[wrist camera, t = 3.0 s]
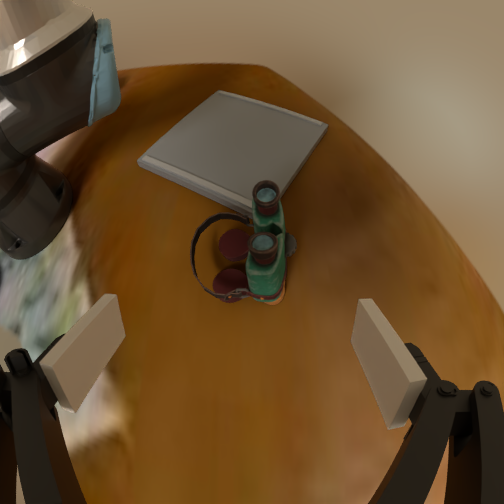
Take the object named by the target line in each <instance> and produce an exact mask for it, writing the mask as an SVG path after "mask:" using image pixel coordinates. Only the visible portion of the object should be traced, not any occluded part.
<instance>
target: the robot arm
mask: <svg viewBox="0 0 504 504" xmlns="http://www.w3.org/2000/svg"><path fill="white" fill-rule="evenodd" d="M120 102H121V93H120V87H119V81H118V75H117V69H116V63H115V56H114V50H113V42H112V32H111V24H110V20H109V19H99V20H97V22H96V21H95V19H94V16H93V12H92V9H91V8H89V7H86V6H81V5H78V4H75V3H74V2H73V0H0V248H1V249H2V250H3V251H4V252H5V253H7V254H8V255H9V256H10V257H12V258H14V259H18V260H21V259H26V258H29V257H32V256H34V255H35V254H37V253H38V252H40V251H41V250H42V249H44V248H45V247H46V246H47V245H48V244H49V243H50V242H51V241H52V240H53V238H54V237H55V236H56V235H57V233H58V232H59V230H60V229H61V227H62V226H63V224H64V222H65V220H66V218H67V216H68V214H69V211H70V208H71V204H72V198H73V192H72V187H71V185H70V183H69V181H68V180H67V179H66V177H65V176H64V174H63V173H62V172H61V171H59V170H58V169H56V168H55V167H53V166H52V165H50V164H48V163H47V162H45V161H44V160H42V159H41V158H39V157H38V156H36V153H37V152H39V151H41V150H42V149H44V148H46V147H47V146H49V145H51V144H53V143H55V142H56V141H58V140H60V139H62V138H64V137H65V136H67V135H69V134H71V133H73V132H75V131H77V130H79V129H81V128H83V127H85V126H88V127H89V126H91V125H92V124H93V122H95V121H97V120H99V119H101V118H103V117H105V116H107V115H109V114H111V113H113V112H114V111H115V110H116V109H117V108H118V106H119V105H120ZM124 338H125V331H124V327H123V323H122V319H121V314H120V310H119V305H118V300H117V295H114V294H105V295H104V296H102V297H101V298H100V299H99V300H98V301H97V302H96V303H95V304H94V305H93V306H92V307H91V308H90V309H89V310H88V311H87V312H86V313H85V314H84V315H83V316H82V317H81V318H80V320H79V321H78V322H77V323H76V324H75V325H74V326H73V327H72V328H71V329H70V330H69V331H68V332H67V333H66V334H63V335H61V336H59V337H58V338H56V339H55V340H54V341H53V342H52V343H51V345H49V346H48V347H47V349H46V350H45V351H44V352H43V353H42V354H41V355H40V356H39V357H38V358H37V359H36V360H35V362H34V363H33V362H32V360H31V358H30V355H29V353H28V351H27V350H26V349H22V348H20V349H15V350H12V351H11V352H9V353H8V354H7V355H6V356H5V359H4V360H5V362H6V364H7V367H8V368H9V371H10V372H4V371H3V369H2V367H1V365H0V504H16V476H17V465H18V471H19V476H20V482H21V486H22V491H23V495H24V499H25V503H26V504H87V503H86V501H85V498H84V496H83V493H82V491H81V488H80V486H79V483H78V481H77V478H76V475H75V472H74V469H73V466H72V463H71V460H70V457H69V454H68V451H67V447H66V444H65V440H64V437H63V433H62V429H61V425H60V421H59V417H58V412H57V409H56V407H55V406H54V405H55V404H56V402H57V401H58V402H59V404H60V405H61V407H62V409H63V410H66V411H69V412H72V413H76V412H77V410H78V409H79V407H80V405H81V404H82V402H83V400H84V399H85V397H86V396H87V394H88V392H89V391H90V389H91V388H92V386H93V385H94V383H95V381H96V380H97V378H98V377H99V375H100V374H101V372H102V371H103V369H104V367H105V366H106V364H107V363H108V361H109V360H110V358H111V357H112V355H113V354H114V352H115V351H116V349H117V348H118V346H119V345H120V343H121V342H122V340H123V339H124ZM351 344H352V346H353V348H354V350H355V353H356V355H357V357H358V359H359V362H360V364H361V366H362V368H363V371H364V373H365V375H366V378H367V380H368V382H369V385H370V387H371V389H372V392H373V394H374V396H375V399H376V401H377V404H378V406H379V409H380V411H381V413H382V416H383V418H384V421H385V423H386V426H387V428H388V430H389V429H394V428H398V427H403V426H404V425H405V423H406V421H407V420H408V418H410V420H411V422H412V425H411V426H410V428H409V430H408V432H407V433H406V435H405V437H404V438H403V439H404V441H403V443H402V445H401V447H400V449H399V451H398V453H397V455H396V457H395V459H394V461H393V463H392V465H391V466H390V468H389V470H388V472H387V474H386V475H385V477H384V479H383V481H382V482H381V484H380V486H379V487H378V489H377V490H376V492H375V494H374V495H373V497H372V498H371V500H370V501H369V503H368V504H424V502H425V500H426V498H427V495H428V493H429V491H430V488H431V486H432V484H433V481H434V479H435V476H436V474H437V471H438V468H439V466H440V463H441V460H442V457H443V454H444V451H445V448H446V445H447V442H448V438H449V457H448V472H447V483H446V492H445V500H444V504H504V412H503V407H502V402H501V398H500V394H499V390H498V388H497V387H496V386H495V385H494V384H493V383H491V382H489V381H479V382H477V383H476V385H475V386H474V388H473V390H459V389H458V388H457V386H456V385H455V384H453V383H452V382H449V381H446V380H441V379H440V377H439V376H438V375H437V373H436V372H435V370H434V369H433V367H432V366H431V365H430V363H429V362H428V360H427V359H426V357H424V355H423V353H422V352H421V351H420V349H419V348H418V347H416V346H415V345H413V344H412V343H405V344H404V343H403V342H402V340H401V339H400V337H399V336H398V335H397V333H396V332H395V330H394V329H393V327H392V326H391V325H390V323H389V322H388V320H387V319H386V318H385V316H384V315H383V313H382V312H381V311H380V309H379V308H378V307H377V305H376V304H375V302H374V301H373V300H372V299H358V305H357V311H356V317H355V322H354V327H353V332H352V337H351Z"/></svg>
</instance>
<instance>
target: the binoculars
mask: <svg viewBox="0 0 504 504" xmlns="http://www.w3.org/2000/svg"><path fill="white" fill-rule="evenodd" d="M252 196H253V199H252V215H250V214H247V213H245V214H244V215H241V214H238V213H236V214H233V213H217V214H215V215H213V216H211V217H209V218H208V219H206V220H205V221H204V222H203V223H202V224H201V225H200V226H199V227H198V228H197V230H196V232H195V234H194V236H193V239H192V242H191V250H190V258H191V266H192V270H193V273H194V276H195V277H196V278H197V280H198V281H199V279H198V277H197V273H196V269H195V261H194V254H195V246H196V243H197V241H198V239H199V236H200V234H201V233H202V232H203V231H204V230H205V229H206V228H207V227H208V226H209V225H210V224H211V223H213V222H215V221H218V220H220V219H233V220H237V221H241V222H242V223H244V224H246V225H247V226H254V233H255V234H253V235H252V236H249V235H248V234H247V233H246V232H244V231H242V230H239V229H232V230H229V231H227V232H225V233H224V234H223V235H222V236H221V238H220V240H219V250H220V252H221V253H222V254H223V255H224V257H225V258H226V259H228V260H230V261H240V260H243V259H245V258H246V257H247V261H246V274H247V276H246V275H245V274H244V273H242V272H241V271H239V270H236V269H226V270H223V271H221V272H220V273H219V274H217V276H216V277H215V278H214V281H213V289H214V291H215V293H214V292H212V291H211V290H209V289H207V288H206V287H204V286H203V285H202V283H201V282H200V281H199V283H200V284H201V286H202V287H203V288H204V290H205V291H207V292H208V293H210V294H211V295H213V296H215V297H216V298H219V299H220V300H222V301H224V302H228V303H231V302H236V301H239V300H241V299H242V298H245V297H249V296H252V297H253V298H254V299H255V300H257V301H260V302H264V303H266V304H268V305H275V304H278V303H279V302H281V301H282V299H283V298H284V294H285V287H284V284H285V279H286V275H287V257H288V256H289V257H290V256H292V254H293V253H295V249H296V248H297V244H296V239H295V238H294V236H293V235H290V234H289V233H287V229H286V228H285V221H284V213H283V208H282V205H281V201H280V189H279V187H278V185H277V184H276V183H275V182H273V181H270V180H263V181H260V182H258V183H257V184H256V185H255V186H254V188H253V191H252ZM248 216H249V217H252V220H253V224H249V223H250V222H249V217H248Z"/></svg>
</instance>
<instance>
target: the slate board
mask: <svg viewBox="0 0 504 504" xmlns="http://www.w3.org/2000/svg"><path fill="white" fill-rule="evenodd" d="M327 129H328V124H325V123H323V122H320V121H318V120H315V119H312V118H310V117H307V116H304V115H301V114H298V113H296V112H293V111H290V110H287V109H284V108H281V107H278V106H275V105H271V104H268V103H265V102H262V101H258V100H255V99H251V98H248V97H244V96H241V95H237V94H233V93H229V92H225V91H221V90H218V91H217V92H216V93H214V94H213V95H212V96H210V97H209V98H208V99H206V100H205V101H204V102H203V103H201V104H200V105H199V106H198V107H196V108H195V109H194V110H193V111H191V112H190V113H189V114H188V115H187V116H185V117H184V118H183V119H182V120H181V121H179V122H178V123H177V124H176V125H175V126H174V127H173V128H171V129H170V130H169V131H168V132H167V133H166V134H165V135H164V136H162V137H161V138H160V139H159V140H158V141H157V142H156V143H155V144H154V145H153V146H152V147H150V148H149V149H148V150H147V151H146V152H145V153H144V154H143V155H142V156H141V157H140V158H139V159H138V160H137V162H138V164H139V166H140V167H142V168H144V169H146V170H149V171H151V172H153V173H155V174H158V175H160V176H162V177H164V178H166V179H169V180H171V181H173V182H175V183H177V184H179V185H182V186H184V187H186V188H188V189H190V190H192V191H195V192H197V193H199V194H201V195H203V196H205V197H207V198H210V199H212V200H214V201H216V202H218V203H220V204H222V205H224V206H226V207H229V208H231V209H233V210H235V211H237V212H239V213H241V214H243V215H244V214H245V213H247V214H250V215H252V199H253V196H252V191H253V188H254V186H255V185H256V184H257V183H258V182H260V181H263V180H270V181H273V182H275V183H276V184H277V185H278V187H279V189H280V198H281V197H282V195H283V194H284V193H285V191H286V190H287V188H288V187H289V185H290V184H291V182H292V181H293V179H294V178H295V177H296V175H297V174H298V172H299V171H300V169H301V168H302V166H303V165H304V163H305V162H306V161H307V159H308V158H309V156H310V155H311V153H312V152H313V150H314V149H315V148H316V146H317V145H318V143H319V142H320V140H321V139H322V137H323V136H324V135H325V133H326V132H327ZM248 217H249V216H248ZM249 218H251V219H252V217H249Z"/></svg>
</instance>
